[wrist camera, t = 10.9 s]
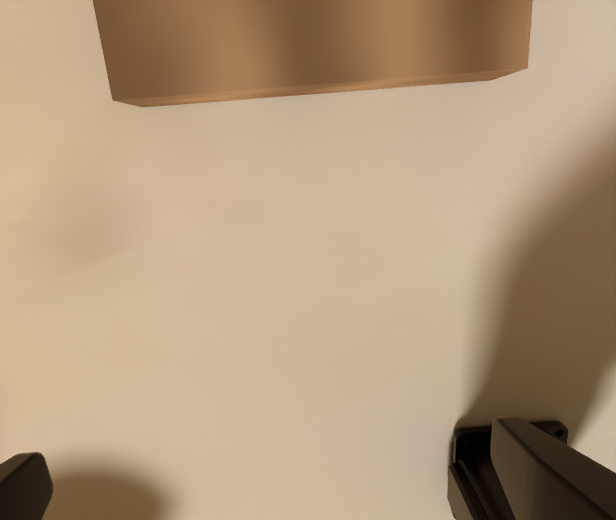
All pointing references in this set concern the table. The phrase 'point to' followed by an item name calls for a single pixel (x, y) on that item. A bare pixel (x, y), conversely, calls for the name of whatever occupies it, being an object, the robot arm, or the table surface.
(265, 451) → the table surface
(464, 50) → the walnut base
